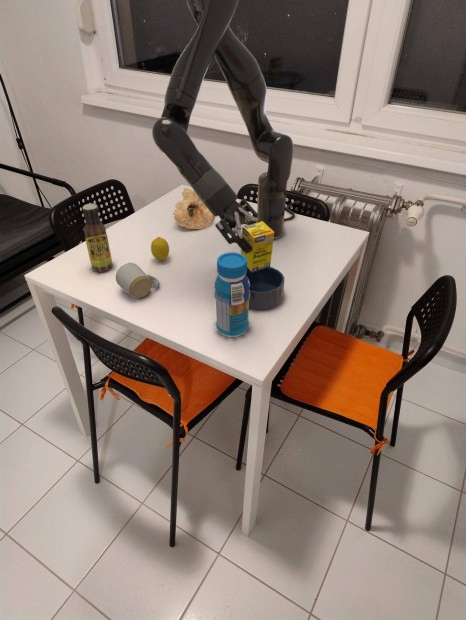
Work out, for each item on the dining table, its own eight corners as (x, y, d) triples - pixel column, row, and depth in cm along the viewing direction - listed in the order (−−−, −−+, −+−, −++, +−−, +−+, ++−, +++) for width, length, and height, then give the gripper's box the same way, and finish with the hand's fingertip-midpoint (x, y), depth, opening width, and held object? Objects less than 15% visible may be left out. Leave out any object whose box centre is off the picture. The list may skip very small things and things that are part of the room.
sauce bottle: (94, 275, 119) (77, 213, 106) (90, 264, 123) (74, 204, 110) (116, 270, 121) (102, 208, 108) (111, 260, 125) (98, 200, 113)
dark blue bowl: (247, 278, 117) (247, 261, 113) (288, 289, 113) (290, 271, 109) (229, 303, 108) (228, 285, 104) (273, 315, 104) (275, 297, 100)
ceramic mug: (132, 304, 108) (127, 280, 103) (117, 290, 112) (112, 267, 108) (165, 289, 113) (162, 266, 108) (150, 277, 118) (146, 254, 113)
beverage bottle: (210, 333, 99) (206, 265, 86) (223, 313, 105) (221, 246, 92) (242, 342, 96) (243, 273, 84) (253, 320, 102) (256, 253, 90)
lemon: (167, 265, 123) (164, 242, 118) (150, 263, 123) (146, 240, 118) (172, 256, 127) (170, 233, 122) (156, 254, 128) (153, 232, 123)
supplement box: (251, 274, 102) (254, 238, 94) (239, 261, 106) (241, 225, 98) (270, 267, 104) (275, 231, 96) (259, 255, 108) (262, 220, 100)
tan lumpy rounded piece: (208, 244, 145) (212, 231, 139) (169, 235, 143) (171, 221, 136) (214, 207, 154) (218, 193, 147) (177, 199, 152) (179, 184, 145)
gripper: (210, 194, 89) (256, 250, 93) (236, 173, 99) (276, 224, 103) (191, 212, 94) (235, 264, 98) (217, 190, 104) (256, 238, 108)
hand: (256, 243), depth 100 cm, fingers closed on supplement box, 8 cm apart
